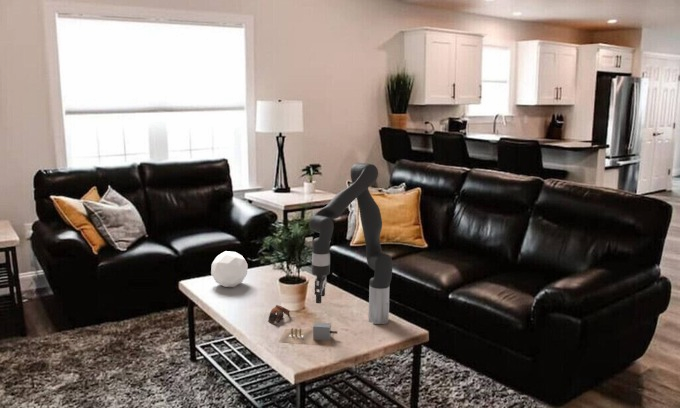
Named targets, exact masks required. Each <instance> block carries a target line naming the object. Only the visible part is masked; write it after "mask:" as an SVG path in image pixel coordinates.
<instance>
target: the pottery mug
mask: <svg viewBox="0 0 680 408" xmlns="http://www.w3.org/2000/svg"><path fill="white" fill-rule="evenodd" d="M285 315H286V316H287V318H288V319H289V318H291V316H290V315H291V314H290V309H288V308H286V307H285V306H284V307H283V306H281V305H278V304H276V305H275V306H274V307H273V308H271V310H270V313H269V315H268V320H267V321H268V322H269V323H270V324H273V325H274V324H276V323H277V324H279V323H281V322H282V320H283V318H284V316H285ZM275 322H276V323H275Z"/></svg>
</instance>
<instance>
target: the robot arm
mask: <svg viewBox="0 0 680 408" xmlns="http://www.w3.org/2000/svg"><path fill="white" fill-rule="evenodd" d="M378 177H379V170H378V167H377V166H376V165H375V164H372V163H366V162H356V163H353V164H352V166H351V169H350V180H351V184H350V185H349V186H348V187H346V188H345V189H342V190H341V191H339V192H338V193H337V194H335V196H334V197H333V198H332V199H330V201H329V202H328V203H327V205H326V206H323V208H321V209H320V210H318V211H317V212H316V213H314V214H313V215H312V216H311V218H310V219H309V222H308V227H309V228H310V230H311V231H313V232H315V233H318V234H319V237H316V238H314V239H313V240H312V256H311V274H312V275H314V276H316V278H315V279H314V292H313V293H314V295H315V303H316V304H322V297H325V296H326V287H327V276H328V275H330V272H331V271H330V270H331V269H330V268H331V254H330V248H331V247H330V244H331V239H332V235H333V232H334V221H333V220H334V219H339V217H341V215H342V214H343V212H344V211H345V210H346V209H348V207H349V206H350V205H351V203H352V202H354V201H355V200H356V201H357V206H358V210H359V217H360V218H359V219H360V222H361V226H362V232H363V237H364V242H365V253H366V262H367V265H368V267H369V268H370V269H372V270H373V271H374V275H373V277H371V278H370V279H369V286H368V287H369V289H368V290H369V291H368V293H369V294H368V296H369V297H368V322H369V323H373V324H374V325H384V324H389V320H390V319H389V318H390V284H391V281H392V277H393V267H394V266H393V259H392V257H391V255H390V254H388V253H387V252H384V251H383V249H382V246H381V240H380V237H381V233H382V228H383V220H382V214H381V210H380V207H379V205H378V204H377V202H376V201H375V199H374V198H373V196H372V194H371V192H370V190H369V188H370V187H371V186H372V185H374V183H375V182H377V181H376V180H377V179H378Z"/></svg>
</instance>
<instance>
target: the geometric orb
mask: <svg viewBox="0 0 680 408" xmlns="http://www.w3.org/2000/svg"><path fill="white" fill-rule="evenodd" d="M248 266H249V264H248V263H247V261H246V259H245V258H244V257H243V255H242V254H240V253H238V252H236V251H227V250H225V251H223V252H221V253H220V254H218V255H217V256H216V257H215V258H214V260H213V261H212V263H211V267H210V268H211V270H210V274H211V276H212V278H213V280H214V282H215V283H216V284H217V285H221V286H222V287H225V288H235V287H237V286H238V285H239V284H241V283H243V282H244V280H245V278H246V277H247V276H248Z"/></svg>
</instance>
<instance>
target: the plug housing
mask: <svg viewBox="0 0 680 408" xmlns="http://www.w3.org/2000/svg"><path fill="white" fill-rule="evenodd" d="M312 326H313V327H312V330H313V340H324V341H330V338H331V333H334V335H335V334H338V331H337V330H332V323H331V322H330V323H329V322H316V321H315V322H314V324H313V325H312Z"/></svg>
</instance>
